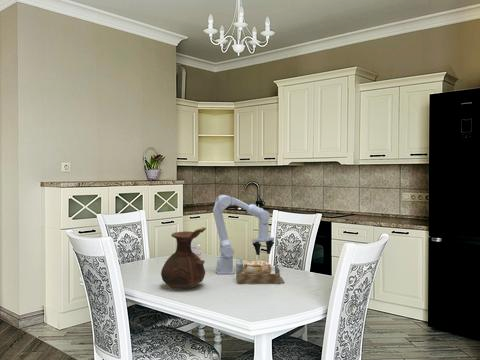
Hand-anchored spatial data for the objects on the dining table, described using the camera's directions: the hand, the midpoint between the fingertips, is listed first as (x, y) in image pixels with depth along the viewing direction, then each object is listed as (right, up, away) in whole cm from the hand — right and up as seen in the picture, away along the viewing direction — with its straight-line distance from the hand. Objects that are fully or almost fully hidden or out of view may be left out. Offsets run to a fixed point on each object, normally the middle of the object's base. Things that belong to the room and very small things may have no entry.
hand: (263, 254), depth 261 cm
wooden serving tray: (-4, -10, -24) cm, 27 cm away
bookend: (+8, -10, -23) cm, 26 cm away
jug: (-42, -10, -37) cm, 56 cm away
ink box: (-42, -9, +18) cm, 47 cm away
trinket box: (-4, -10, -10) cm, 15 cm away
